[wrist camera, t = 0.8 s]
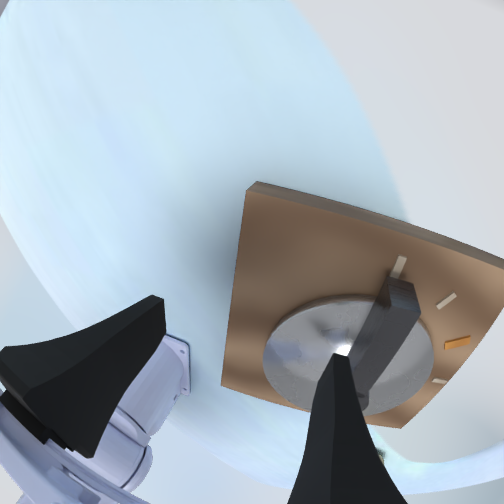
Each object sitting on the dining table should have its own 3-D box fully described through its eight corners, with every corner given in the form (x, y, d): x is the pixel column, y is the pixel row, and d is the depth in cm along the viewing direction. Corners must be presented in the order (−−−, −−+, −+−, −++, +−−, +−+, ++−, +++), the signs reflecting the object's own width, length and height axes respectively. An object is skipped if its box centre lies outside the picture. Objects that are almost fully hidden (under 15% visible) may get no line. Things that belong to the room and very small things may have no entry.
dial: (384, 417, 20) (382, 450, 17) (254, 386, 23) (241, 419, 20) (477, 294, 13) (496, 332, 10) (293, 239, 15) (279, 274, 12)
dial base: (400, 412, 23) (400, 430, 21) (228, 369, 26) (219, 387, 24) (509, 261, 14) (522, 278, 12) (256, 181, 17) (245, 191, 15)
